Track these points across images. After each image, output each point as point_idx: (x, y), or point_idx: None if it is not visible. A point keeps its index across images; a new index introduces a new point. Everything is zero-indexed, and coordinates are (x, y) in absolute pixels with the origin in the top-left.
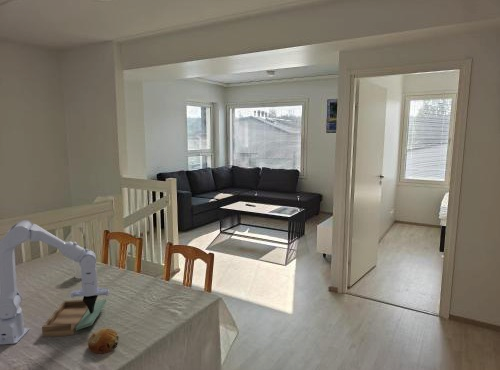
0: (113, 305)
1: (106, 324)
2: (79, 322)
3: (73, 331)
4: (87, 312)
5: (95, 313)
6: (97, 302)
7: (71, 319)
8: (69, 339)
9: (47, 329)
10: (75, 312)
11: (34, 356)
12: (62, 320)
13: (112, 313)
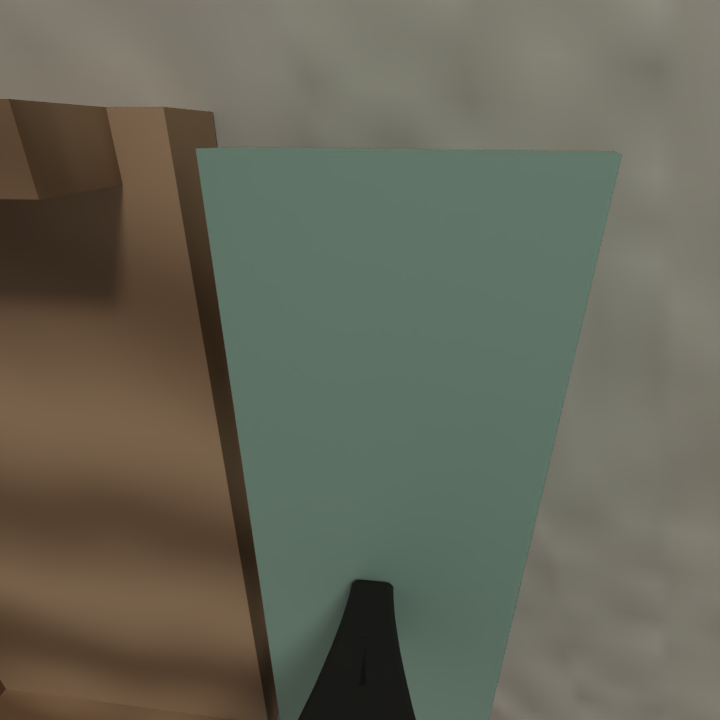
0: (702, 31)
1: (589, 612)
2: (281, 697)
3: (276, 714)
4: (281, 536)
5: (461, 700)
6: (349, 225)
7: (129, 586)
8: None
9: None
10: (59, 435)
11: None
12: (29, 584)
13: (670, 385)
